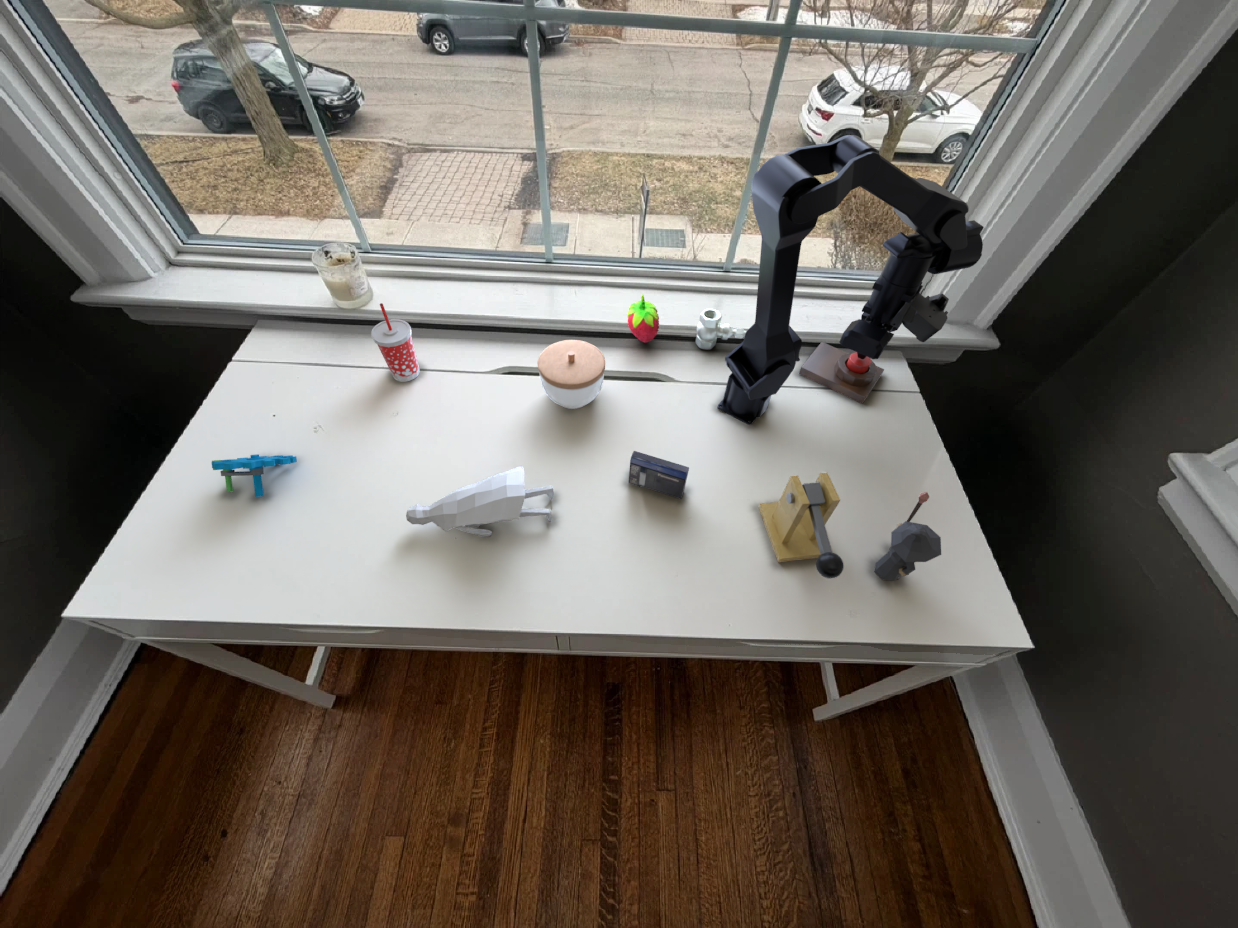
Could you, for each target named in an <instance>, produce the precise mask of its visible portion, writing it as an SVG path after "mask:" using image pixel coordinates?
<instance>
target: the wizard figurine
mask: <svg viewBox="0 0 1238 928" xmlns="http://www.w3.org/2000/svg"><path fill="white" fill-rule="evenodd" d="M929 498H930V495H929V493H928V491H924V492H920V494H919V496H918V501H917V503H916V504H915V506H914V508H913V510H912V511H911V513H910V514H909V516H908V518H907V520H905V521H904V522H900V523H898V524H896V528H895V529H894V530H892V531H891V534H890V535H891V538H890V541H891V542H890V548H889V550H888V551H887V552H886V553H884V555H882V557H880V558H879V559H878V560H877V561H876V562H875V564H874V571H873V573H875V575H876V576H878V577H879V578H880V579H881V580H883V581H896V580H898V581H899V578H901V576H902V577H906V576H909V575H910V574H911V573H912V572H914V571H916V565H915V563H926V562H930V561H931V560H933V559H935V558H938V557H940V556H942V538H941V536H940V535H939V534H938V533H936V531H934V530H933V529H932V528H931V527H930V526H929V525H927V524H923V523H918V522H912V520H913V518H914V517H915V516H916V514H917V512H918V511H919V510H920V508H921V507H922V505H923V504H924V503H927V502H928V500H929Z"/></svg>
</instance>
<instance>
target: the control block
mask: <svg viewBox="0 0 1238 928" xmlns="http://www.w3.org/2000/svg"><path fill="white" fill-rule="evenodd" d="M852 353H853V352H846V351H844V350H842V349H840V348H837V347H835V346H832V345H830V344H828V343H826V342H824V341H821V342H820V344H819V345H817V347H816V348H815V349H814V350H813V352H812V353H811V354H810V356H809V357H808V358H807V359H806V360H805V362H804V363H803V364H802V365H801V367H800V369H799V372H798V375H800V376H802V377H804V378H806V379H809V380H811V381H813V382H814V383H817V384H819V385H821V386H823V387H825V388H828V389H829V390H832V391H834V392H836V393H838V394H840V395H842V396H844V397H847V398H848V399H851V400H853V401H855V402H857V403H859V404H861V405H863V404H864V402H865V401H866V399H867V398H868V396H869V395H870V393H871V391H872V390H874V387H875V386H876V384H878V383H877V382H878V381H879V380H880V378H881V377H882V375H883V373H884V371H885V369H884V368H882V367H880V366H878V365H876V363H875V362H874V361H873V359H871V364H870V366H869V368H868V370H867V371H866V372H865V373H862V374H859V373H854V372H852V371H850V370H849V369H848V368H847V366H846V363H847V361H848V359H849V357H850V355H851V354H852Z"/></svg>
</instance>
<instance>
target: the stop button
mask: <svg viewBox="0 0 1238 928" xmlns="http://www.w3.org/2000/svg"><path fill="white" fill-rule="evenodd" d="M851 353H852V354H851V355H850V357H849V359H848V361H847V363H846V366H847V368H848V369H849V370H850V371H852V372H854V373H859V374H862V373H865V372H866V371H867V370H868V368H869V366H870V364H871V360H872V358H869V357H867V356H866V358H865V359H860V358H858V356H857V352H856V351H855V352H851Z"/></svg>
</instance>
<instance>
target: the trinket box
mask: <svg viewBox="0 0 1238 928" xmlns="http://www.w3.org/2000/svg"><path fill="white" fill-rule="evenodd" d="M537 370H538V373H539V380H540V383H541V387H542V388H543V391H544V393H545V395H547V397H548V398H549V400H550V401H553V403H555V404H556V405H558V406H560V407H562V408H565V409H569V410H576V409H577V410H578V409H580V408H583V407H585V406H586V405H588V404H590V403H591V402H592V401H594V400H595V399H596V398H597V396H598V395H599V394H600V392H601V389H602V388H603V384H604V379H605V370H606V359H605V355H604V353H603V352H602V351H601V350H600V349H599V347H597V346H595V345H594V344H592V343H589V342H587V341H585V340H584V341H583V340H579V339H565V340H559V341H556V342H554V343H551V344H550V345H548V346H547V347H545V348H544V349H543V350H542V351H541V352H540V354H539V356H538V358H537Z"/></svg>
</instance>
